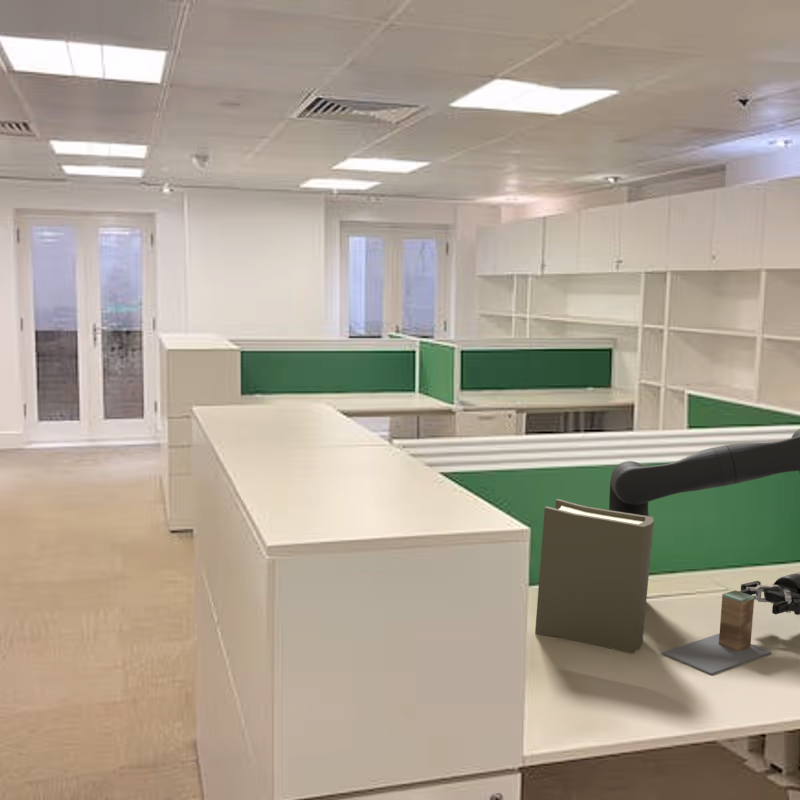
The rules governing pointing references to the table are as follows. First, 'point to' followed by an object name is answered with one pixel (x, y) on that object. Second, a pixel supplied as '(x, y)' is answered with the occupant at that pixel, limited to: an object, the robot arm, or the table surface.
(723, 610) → the walnut block
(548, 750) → the table surface
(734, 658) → the rubber mat
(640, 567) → the book
